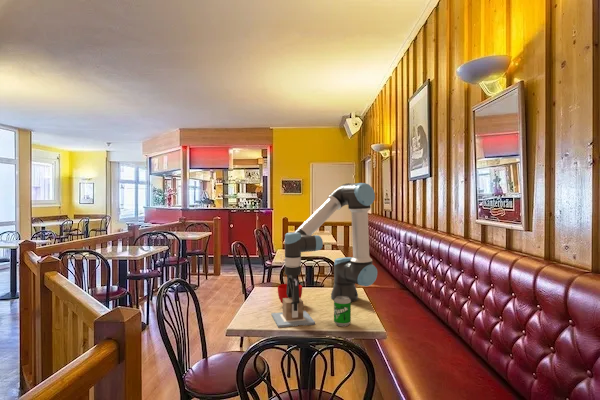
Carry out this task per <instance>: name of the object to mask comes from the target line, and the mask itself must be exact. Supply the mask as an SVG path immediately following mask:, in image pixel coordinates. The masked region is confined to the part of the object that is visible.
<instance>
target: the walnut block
mask: <svg viewBox="0 0 600 400" xmlns="http://www.w3.org/2000/svg"><path fill="white" fill-rule="evenodd" d="M296 301H297V300H296ZM299 301H300V302H299V303H298V317H297V318H292V304H291V302H293V301H292V298H283V304H282V312H283V316H284V318H285V319H286V321H287V320H298V319H303V311H304V301H303V299H302V298H301V299H300V298H299Z"/></svg>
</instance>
